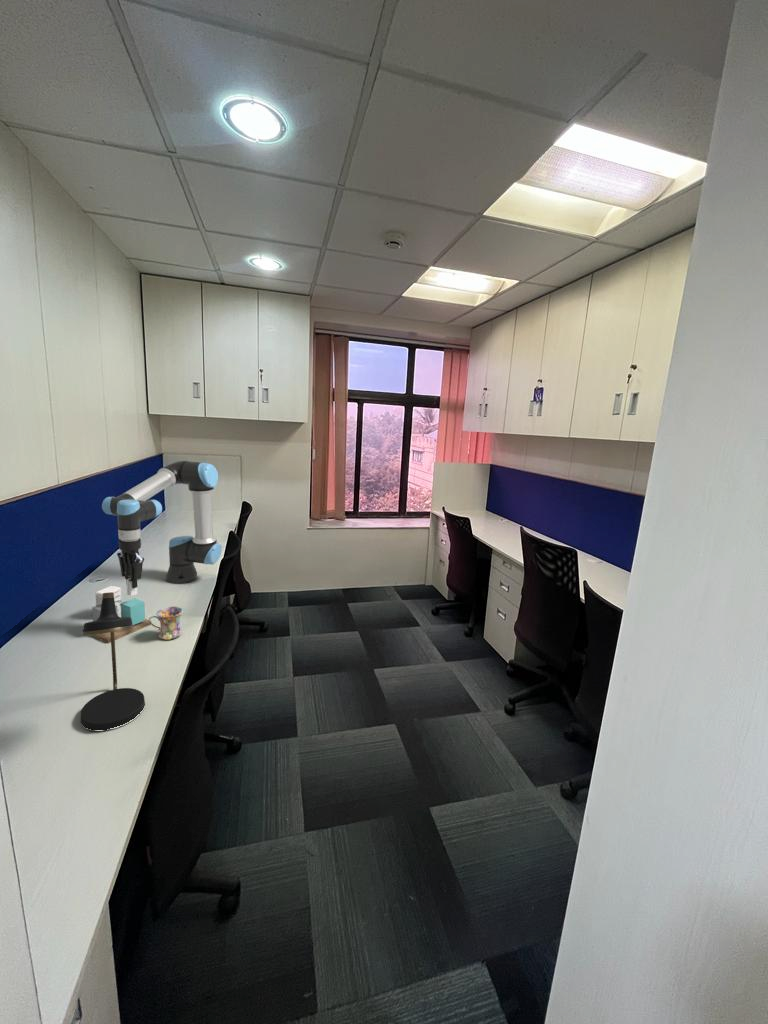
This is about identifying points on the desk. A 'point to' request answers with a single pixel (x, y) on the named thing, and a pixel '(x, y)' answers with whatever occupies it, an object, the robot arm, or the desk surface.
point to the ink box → (116, 596)
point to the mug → (169, 622)
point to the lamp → (117, 702)
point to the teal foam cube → (133, 610)
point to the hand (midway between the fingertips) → (132, 594)
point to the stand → (118, 634)
